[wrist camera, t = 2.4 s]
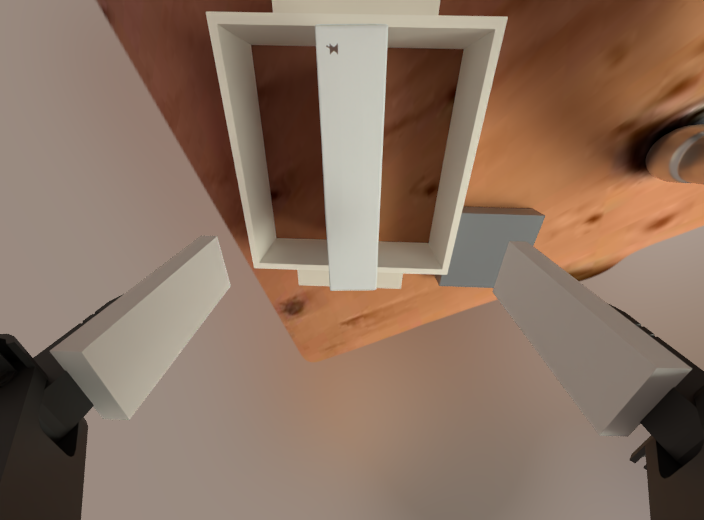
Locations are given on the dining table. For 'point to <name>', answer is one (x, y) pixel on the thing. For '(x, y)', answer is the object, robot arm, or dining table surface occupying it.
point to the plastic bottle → (678, 156)
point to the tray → (403, 32)
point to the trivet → (487, 243)
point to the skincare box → (352, 146)
